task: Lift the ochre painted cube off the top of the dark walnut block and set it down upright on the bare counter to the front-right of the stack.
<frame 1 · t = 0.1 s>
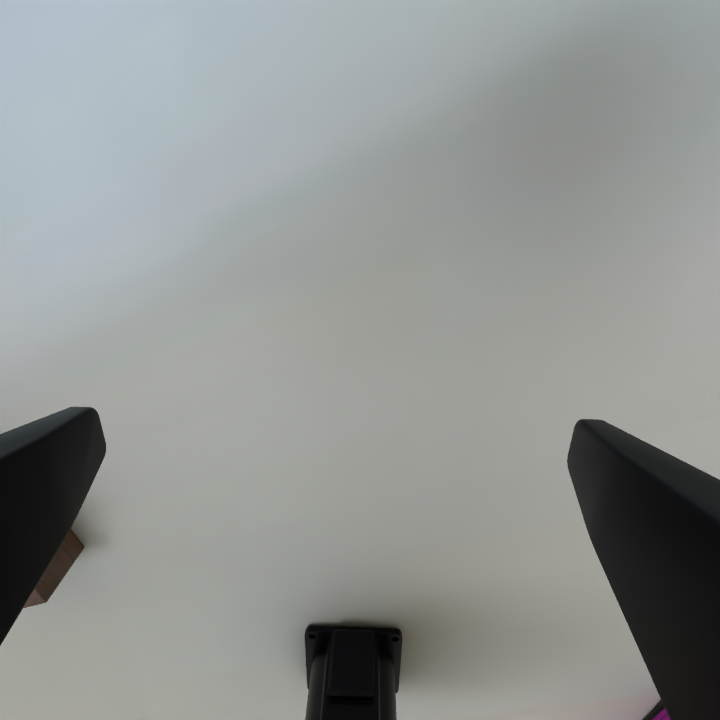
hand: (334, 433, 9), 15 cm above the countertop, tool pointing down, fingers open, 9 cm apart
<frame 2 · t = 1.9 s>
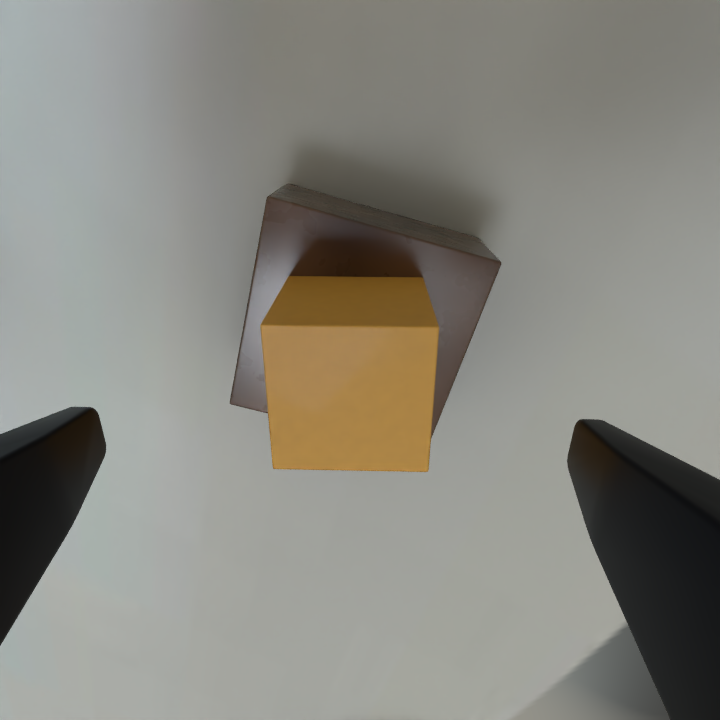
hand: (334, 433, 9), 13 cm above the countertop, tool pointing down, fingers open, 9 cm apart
ochre cube: (355, 338, 18), point 4 cm above the countertop, touching walnut block
walnut block: (358, 303, 21), on the countertop, touching ochre cube
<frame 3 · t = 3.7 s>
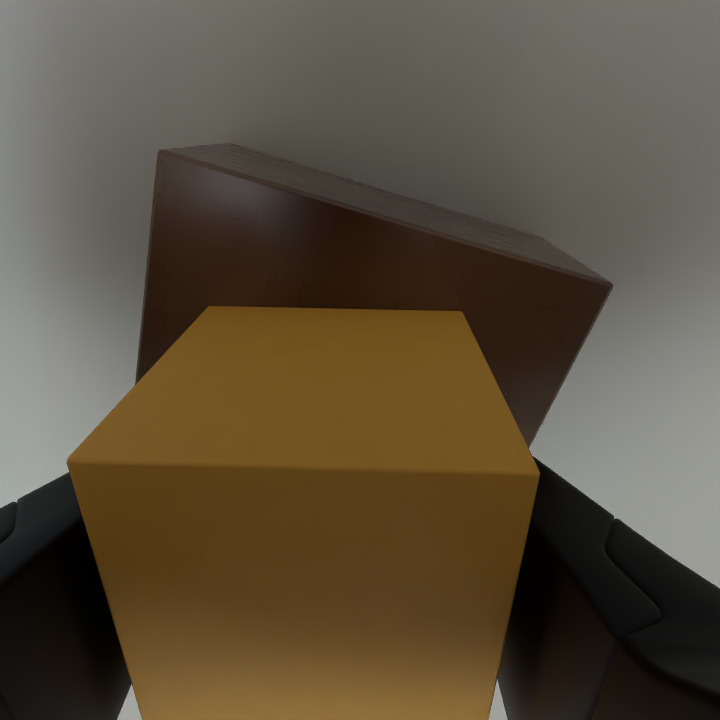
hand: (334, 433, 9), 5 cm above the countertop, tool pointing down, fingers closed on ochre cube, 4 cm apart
ochre cube: (335, 416, 10), point 4 cm above the countertop, touching gripper, walnut block
walnut block: (346, 339, 13), on the countertop, touching ochre cube
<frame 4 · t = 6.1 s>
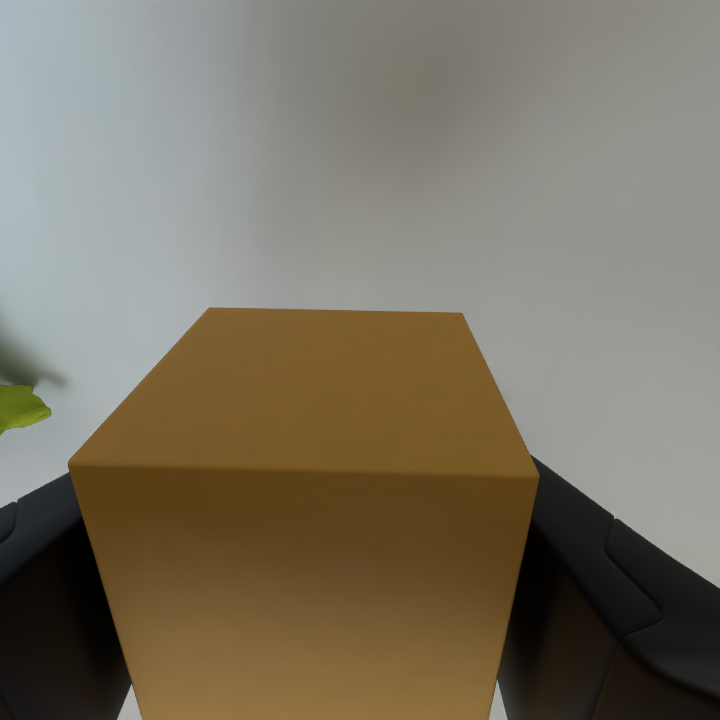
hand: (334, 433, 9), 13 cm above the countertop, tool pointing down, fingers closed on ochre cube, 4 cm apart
ochre cube: (335, 418, 10), point 12 cm above the countertop, touching gripper
when the fingers open (1 cm above the countertop, at t = 8.8 s): ochre cube stays where it is, on the countertop.
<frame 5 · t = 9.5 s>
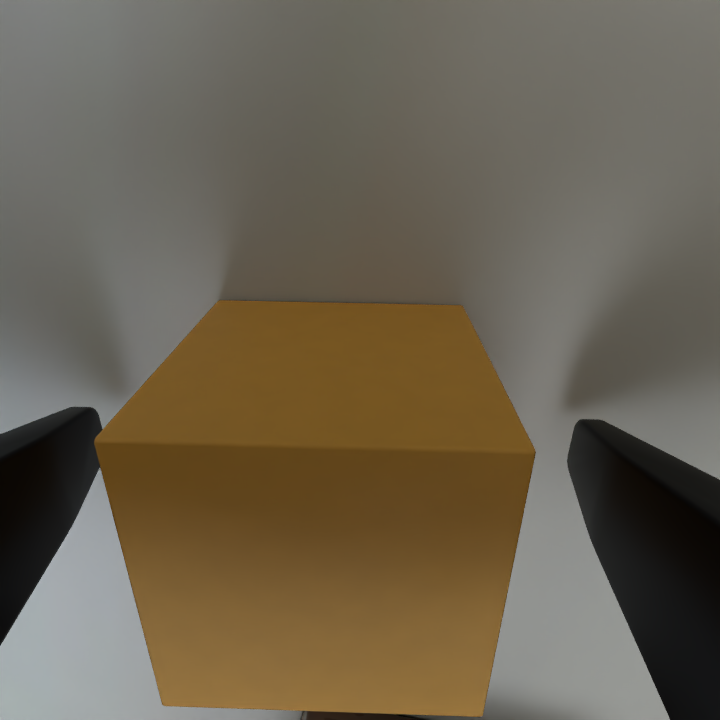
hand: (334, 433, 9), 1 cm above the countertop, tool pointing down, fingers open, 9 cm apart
ochre cube: (340, 407, 10), on the countertop
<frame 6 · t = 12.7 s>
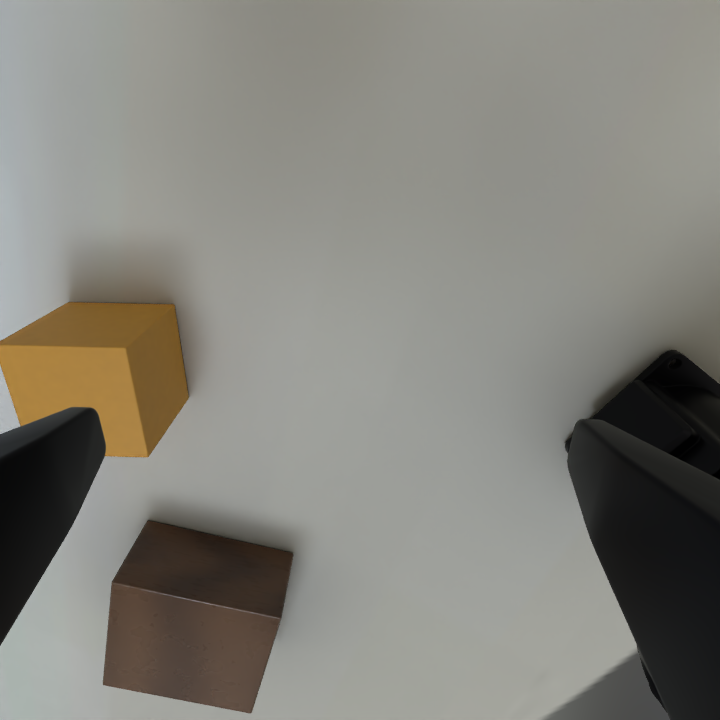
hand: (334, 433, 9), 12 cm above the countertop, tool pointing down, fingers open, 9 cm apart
ochre cube: (131, 351, 22), on the countertop
walnut block: (211, 586, 28), on the countertop
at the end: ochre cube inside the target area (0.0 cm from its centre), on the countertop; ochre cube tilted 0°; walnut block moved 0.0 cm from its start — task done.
